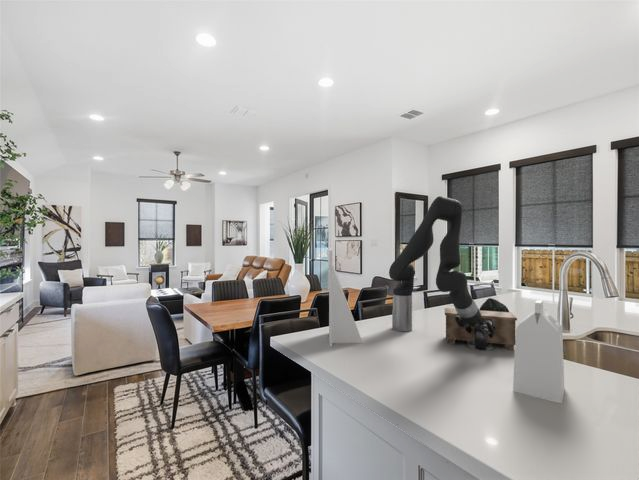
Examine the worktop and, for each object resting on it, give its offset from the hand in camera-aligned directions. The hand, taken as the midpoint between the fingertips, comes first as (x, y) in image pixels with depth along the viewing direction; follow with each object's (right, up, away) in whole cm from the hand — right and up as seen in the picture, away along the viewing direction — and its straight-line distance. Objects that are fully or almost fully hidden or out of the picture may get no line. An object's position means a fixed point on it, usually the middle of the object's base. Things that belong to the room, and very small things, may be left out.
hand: (480, 333), depth 134 cm
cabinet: (+3, -6, +8) cm, 10 cm away
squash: (+26, -7, +38) cm, 46 cm away
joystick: (+1, -6, +4) cm, 7 cm away
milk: (-1, -6, -37) cm, 37 cm away
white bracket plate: (-54, -6, +13) cm, 56 cm away
